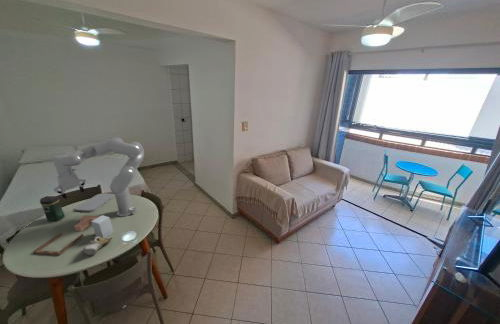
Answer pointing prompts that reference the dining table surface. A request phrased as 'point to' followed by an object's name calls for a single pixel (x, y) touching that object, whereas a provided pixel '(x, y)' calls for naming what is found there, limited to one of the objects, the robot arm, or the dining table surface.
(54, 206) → the coffee jar
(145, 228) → the dining table surface
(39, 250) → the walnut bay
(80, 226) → the t block
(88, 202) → the tablet
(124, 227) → the dining table surface
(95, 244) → the ceramic sculpture
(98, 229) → the supplement box
